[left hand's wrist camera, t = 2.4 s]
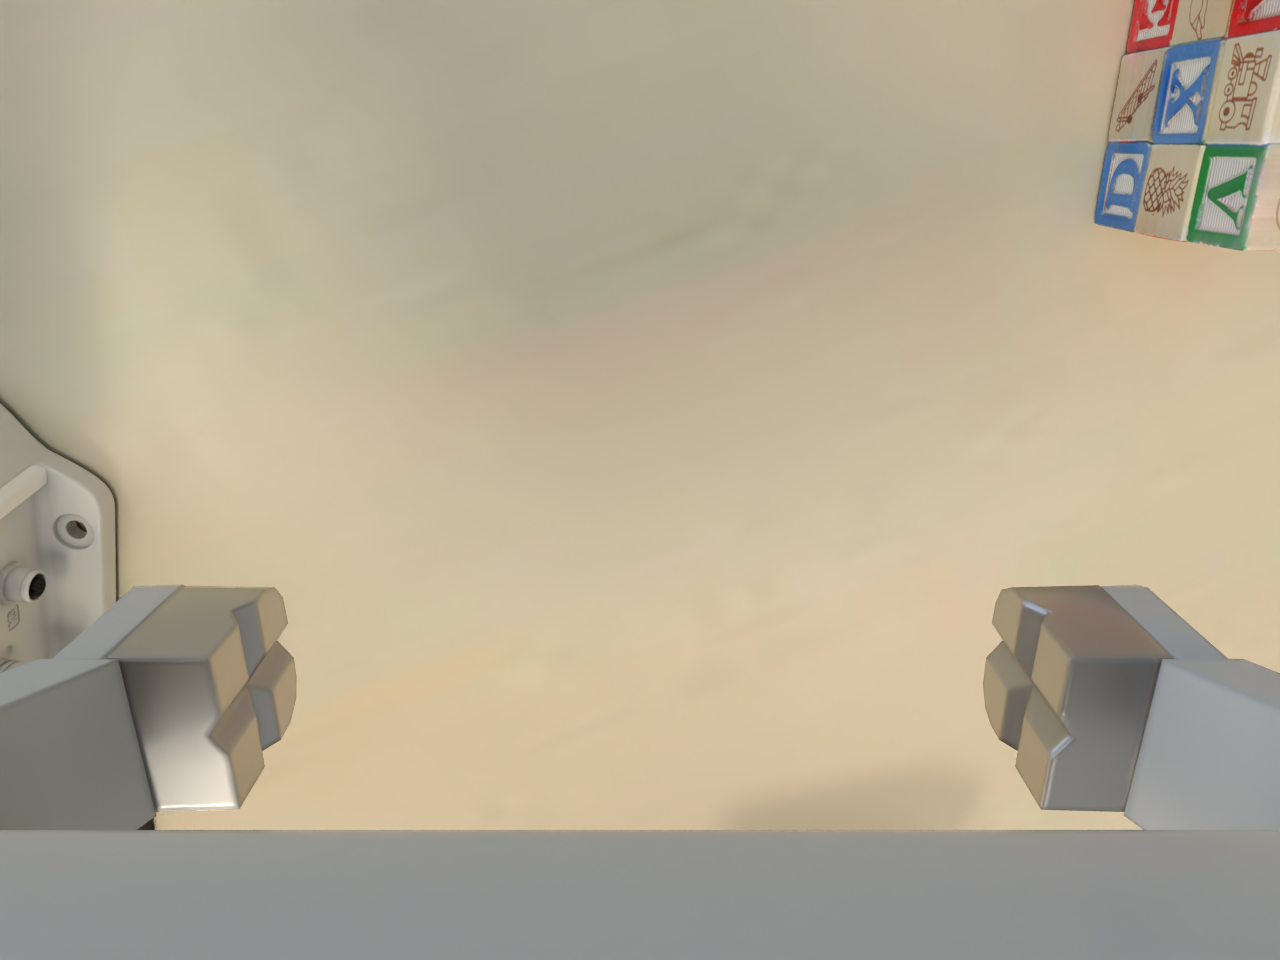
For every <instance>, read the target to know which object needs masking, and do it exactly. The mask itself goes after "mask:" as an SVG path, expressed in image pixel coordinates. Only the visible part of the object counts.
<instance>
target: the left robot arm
mask: <svg viewBox="0 0 1280 960" xmlns="http://www.w3.org/2000/svg"><path fill="white" fill-rule="evenodd" d="M76 521H79V522H81V523H82V524H83V525H84V526H85V527H86V530H87V532H85V531H82V530H81V529H80V528H78V526H77V524H76ZM287 624H288V621H287V616H286V611H285V606H284V601H283V597H282V596H281V594H280V593H279V592H278V591H277V590H276V588H275V587H221V586H184V585H161V586H138V587H133V588H132V589H131V590H130V591H128V592H127V593H126V594H125V595H124V596H123V597H122V598H120V599H119V600H118V601H117V602H116V545H115V502H114V498H113V495H112V493H111V491H110V489H109V488H108V487H107V486H106V484H105V483H104V482H102V481H101V480H100V479H99V478H98V477H96V476H95V475H93V474H92V473H90V472H89V471H87V470H85V469H84V468H82V467H80V466H79V465H77V464H75V463H73V462H71V461H69V460H67V459H66V458H64V457H62V456H60V455H58V454H56V453H54V452H52V451H50V450H48V449H47V448H46V447H45V446H43V445H42V444H41V443H40V442H39V441H38V440H36V439H35V438H34V437H33V436H32V435H31V434H30V433H29V432H28V431H27V430H26V429H25V428H24V427H23V425H22V424H21V423H20V422H19V421H18V420H17V419H16V418H15V417H14V416H13V415H12V414H11V413H10V412H9V411H8V410H7V409H6V408H5V407H4V406H3V405H2V404H0V960H1280V673H1278V672H1275V671H1272V670H1270V669H1267V668H1265V667H1262V666H1260V665H1257V664H1254V663H1252V662H1249V661H1247V660H1244V659H1228V658H1226V657H1225V656H1224V655H1223V654H1222V653H1221V652H1220V651H1219V650H1217V649H1216V648H1215V647H1214V646H1213V645H1212V644H1211V643H1210V642H1208V641H1207V640H1206V639H1205V638H1204V637H1203V636H1202V635H1200V634H1199V633H1198V632H1197V631H1196V630H1195V629H1194V628H1193V627H1191V626H1190V625H1189V624H1188V623H1187V622H1186V621H1185V620H1184V619H1182V618H1181V617H1180V616H1179V615H1178V614H1177V613H1176V612H1175V611H1173V610H1172V609H1171V608H1170V607H1169V606H1168V605H1167V604H1165V603H1164V602H1163V601H1162V600H1161V599H1160V598H1159V597H1158V596H1156V595H1155V594H1154V593H1153V592H1152V591H1151V590H1150V589H1149V588H1147V587H1143V586H1139V585H1118V586H1099V585H1095V586H1053V587H1012V588H1008V589H1003V590H1001V592H1000V595H999V597H998V599H997V601H996V604H995V609H994V615H993V620H992V624H993V626H994V627H995V629H996V630H997V632H998V633H999V635H1000V637H1001V638H1002V640H1003V641H1002V642H1001V643H1000V644H999V645H998V646H997V647H996V648H995V649H994V650H993V651H992V652H991V653H990V654H989V655H988V656H987V658H986V665H985V673H984V681H983V688H984V698H985V708H986V711H987V714H988V717H989V721H990V724H991V726H992V728H993V729H994V731H995V733H996V735H997V736H998V738H999V740H1001V741H1002V742H1004V743H1006V744H1007V745H1009V746H1011V747H1012V748H1014V749H1015V750H1017V751H1018V754H1017V760H1016V765H1015V767H1016V769H1017V770H1018V772H1019V774H1020V775H1021V777H1022V779H1023V780H1024V782H1025V784H1026V785H1027V787H1028V789H1029V790H1030V792H1031V794H1032V795H1033V797H1034V799H1035V800H1036V802H1037V804H1038V805H1039V807H1040V809H1041V810H1075V811H1112V812H1124V816H1125V817H1127V818H1128V819H1129V820H1131V821H1132V822H1134V823H1135V824H1136V825H1138V826H1139V827H1140V828H1142V829H1143V830H153V826H152V823H151V819H152V818H154V817H155V816H156V812H167V811H203V810H239V809H240V807H241V805H242V804H243V802H244V800H245V799H246V797H247V795H248V794H249V792H250V790H251V789H252V787H253V785H254V784H255V782H256V780H257V779H258V777H259V775H260V774H261V772H262V770H263V769H264V767H265V765H264V760H263V754H262V751H263V750H265V749H266V748H268V747H269V746H271V745H273V744H274V743H276V742H278V741H279V740H281V738H282V736H283V735H284V733H285V731H286V729H287V727H288V726H289V724H290V722H291V718H292V713H293V709H294V705H295V701H296V670H295V664H294V658H293V656H292V655H291V654H290V653H289V652H288V651H287V650H286V649H285V648H284V647H283V646H282V645H281V644H280V643H279V642H278V641H277V640H278V638H279V637H280V635H281V633H282V632H283V630H284V629H285V627H286V626H287Z"/></svg>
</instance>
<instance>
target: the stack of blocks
mask: <svg viewBox="0 0 1280 960" xmlns="http://www.w3.org/2000/svg"><path fill="white" fill-rule="evenodd" d="M1108 141H1109V144H1108V147H1107V150H1106V155H1105V161H1104V167H1103V171H1102V178H1101V185H1100V191H1099V196H1098V203H1097V208H1096V213H1095V223H1096V224H1098V225H1102V226H1107V227H1112V228H1116V229H1121V230H1126V231H1130V232H1137V233H1138V234H1143V235H1148V236H1152V237H1158V238H1163V239H1169V240H1175V241H1182V242H1192V243H1198V244H1204V245H1210V246H1216V247H1222V248H1228V249H1234V250H1241V251H1280V0H1135V2H1134V7H1133V13H1132V22H1131V25H1130V31H1129V37H1128V42H1127V54H1126V55H1125V56H1124V57H1123V59H1122V61H1121V67H1120V73H1119V79H1118V85H1117V91H1116V96H1115V102H1114V107H1113V113H1112V118H1111V124H1110V129H1109V137H1108Z"/></svg>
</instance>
